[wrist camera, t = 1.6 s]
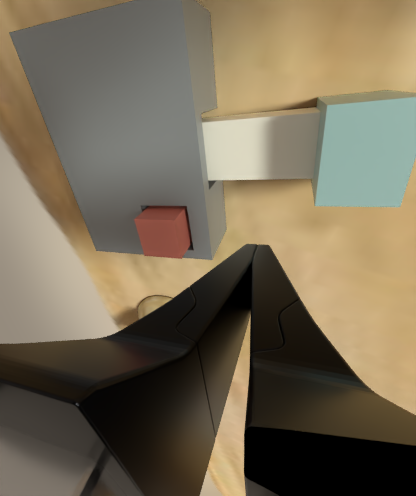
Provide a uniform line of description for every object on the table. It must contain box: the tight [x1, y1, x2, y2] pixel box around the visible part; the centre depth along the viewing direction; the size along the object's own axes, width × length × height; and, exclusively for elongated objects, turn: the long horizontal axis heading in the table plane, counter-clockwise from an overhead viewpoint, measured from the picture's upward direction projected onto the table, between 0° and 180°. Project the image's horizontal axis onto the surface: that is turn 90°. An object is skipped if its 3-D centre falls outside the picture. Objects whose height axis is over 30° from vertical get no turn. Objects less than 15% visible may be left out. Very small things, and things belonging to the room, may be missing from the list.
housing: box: [9, 0, 227, 260], centre depth 18 cm, size 10×14×5 cm
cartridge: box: [202, 90, 416, 207], centre depth 15 cm, size 18×4×6 cm, turn 96°
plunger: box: [134, 206, 192, 259], centre depth 18 cm, size 3×3×5 cm
